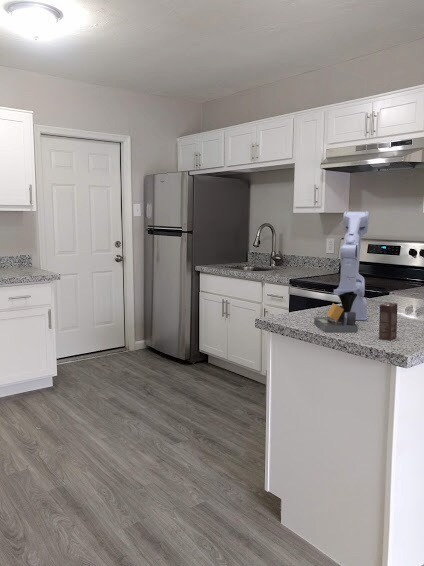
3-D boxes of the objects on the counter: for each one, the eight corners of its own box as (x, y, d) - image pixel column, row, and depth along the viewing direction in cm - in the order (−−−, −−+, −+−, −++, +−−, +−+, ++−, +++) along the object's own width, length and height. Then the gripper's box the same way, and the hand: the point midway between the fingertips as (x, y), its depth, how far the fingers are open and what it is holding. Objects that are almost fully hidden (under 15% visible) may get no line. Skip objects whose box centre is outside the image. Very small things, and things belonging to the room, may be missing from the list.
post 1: (343, 316, 192) (343, 305, 191) (345, 318, 189) (346, 307, 188) (335, 316, 191) (336, 305, 191) (338, 318, 188) (338, 307, 188)
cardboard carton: (331, 320, 187) (339, 306, 186) (335, 324, 181) (344, 309, 180) (324, 317, 186) (332, 303, 186) (328, 320, 181) (337, 305, 180)
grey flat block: (344, 323, 192) (344, 316, 192) (357, 332, 177) (357, 325, 177) (314, 323, 191) (314, 316, 191) (325, 332, 176) (325, 325, 176)
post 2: (353, 323, 180) (354, 311, 179) (356, 325, 177) (357, 313, 176) (345, 323, 179) (346, 311, 179) (348, 325, 177) (348, 313, 176)
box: (384, 335, 173) (385, 302, 171) (396, 337, 170) (398, 303, 168) (377, 338, 168) (379, 304, 167) (390, 340, 165) (392, 305, 164)
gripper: (350, 274, 189) (349, 308, 191) (327, 276, 180) (326, 312, 182) (366, 275, 184) (364, 311, 186) (343, 278, 175) (341, 315, 177)
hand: (346, 312), depth 184 cm, fingers closed
